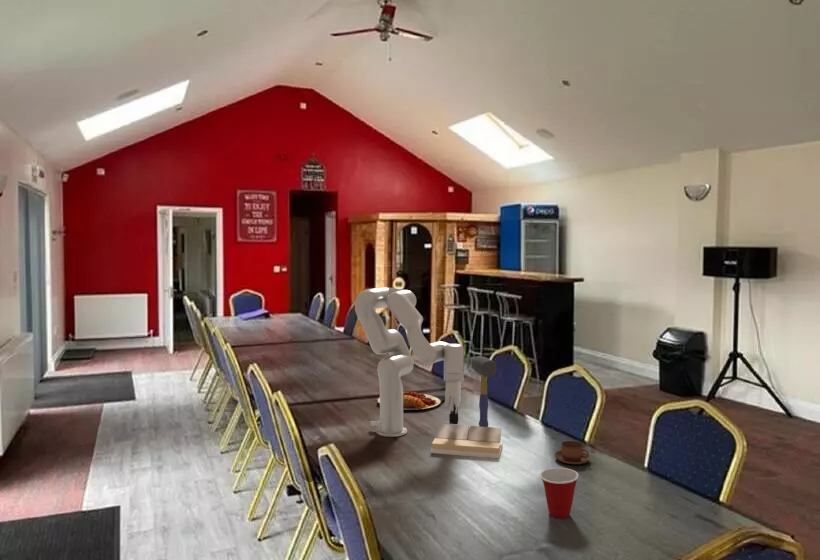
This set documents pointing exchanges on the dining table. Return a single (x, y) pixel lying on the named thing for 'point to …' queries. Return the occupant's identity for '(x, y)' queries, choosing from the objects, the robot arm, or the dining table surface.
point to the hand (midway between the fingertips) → (453, 423)
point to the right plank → (484, 434)
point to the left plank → (453, 432)
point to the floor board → (466, 448)
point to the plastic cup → (559, 490)
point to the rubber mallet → (484, 384)
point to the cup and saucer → (572, 453)
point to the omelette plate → (420, 400)
